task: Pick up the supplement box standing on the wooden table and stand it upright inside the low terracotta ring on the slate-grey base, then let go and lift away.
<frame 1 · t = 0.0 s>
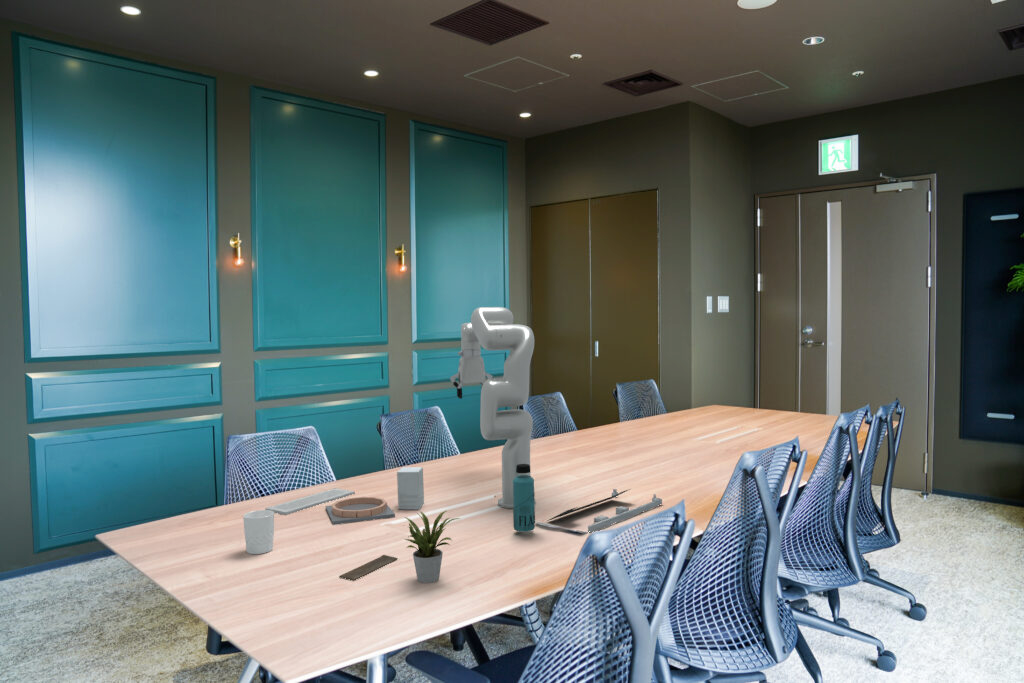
hand: (471, 397, 269), 31 cm above the table, tool pointing down, fingers open, 9 cm apart
wooden plank: (369, 570, 171), on the table
ring holder: (359, 512, 220), on the table
white cup: (259, 551, 185), on the table
plaque: (312, 504, 235), on the table
house plant: (433, 578, 164), on the table
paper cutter: (599, 516, 214), on the table
supplement box: (411, 507, 227), on the table
beverage bottle: (524, 534, 196), on the table
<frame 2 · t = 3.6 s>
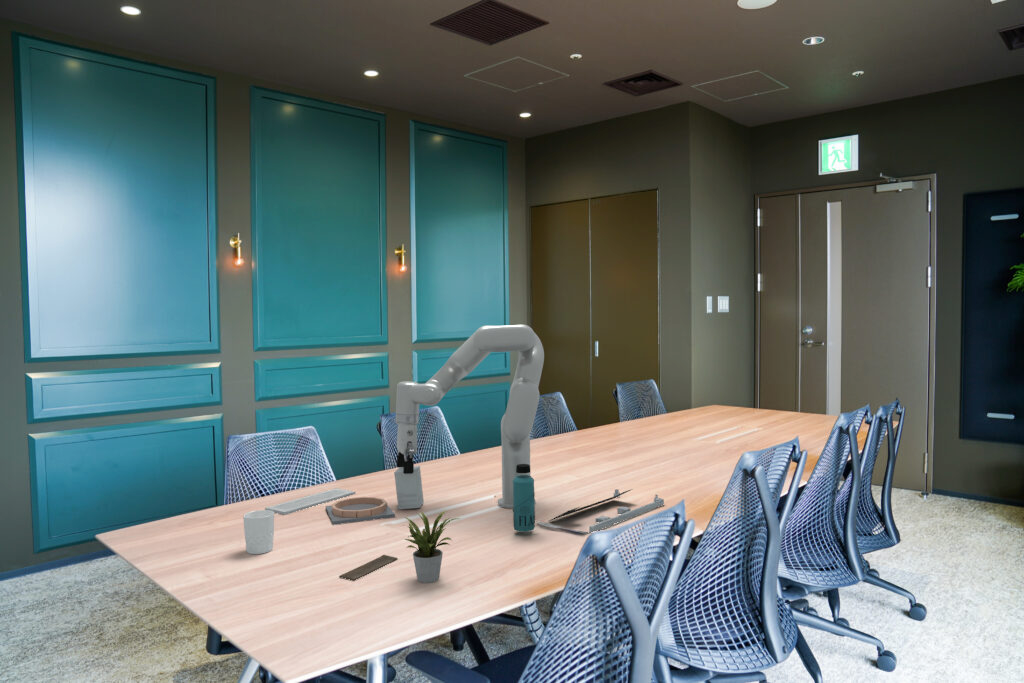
hand: (404, 470, 226), 12 cm above the table, tool pointing down, fingers open, 9 cm apart
supplement box: (411, 506, 227), on the table, touching gripper
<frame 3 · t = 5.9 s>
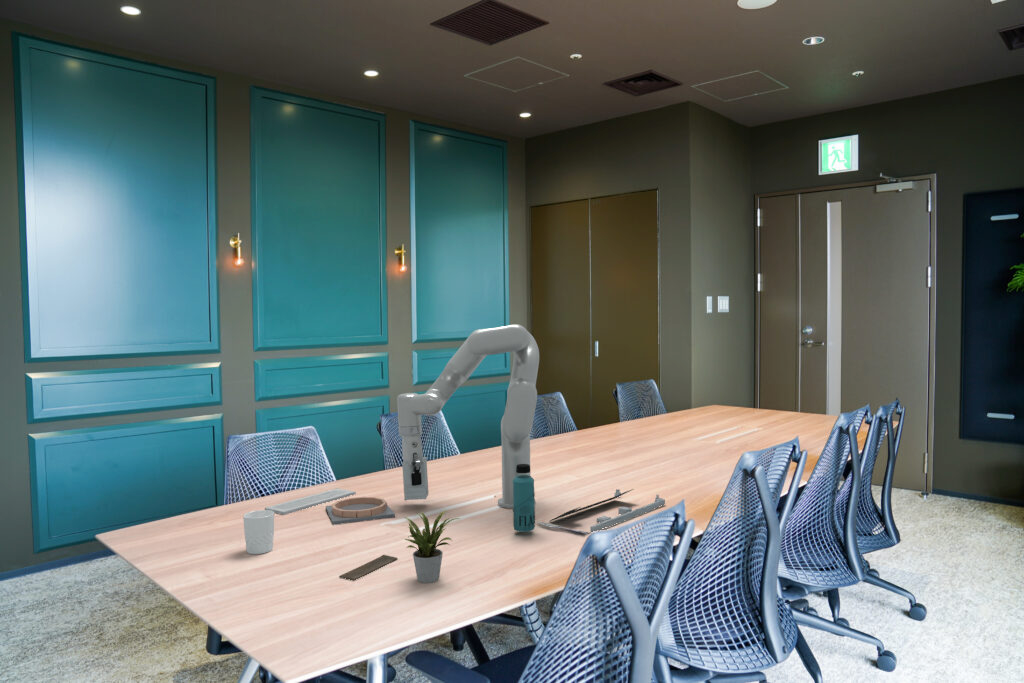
hand: (413, 482, 226), 8 cm above the table, tool pointing down, fingers closed on supplement box, 9 cm apart
supplement box: (416, 497, 227), point 3 cm above the table, touching gripper
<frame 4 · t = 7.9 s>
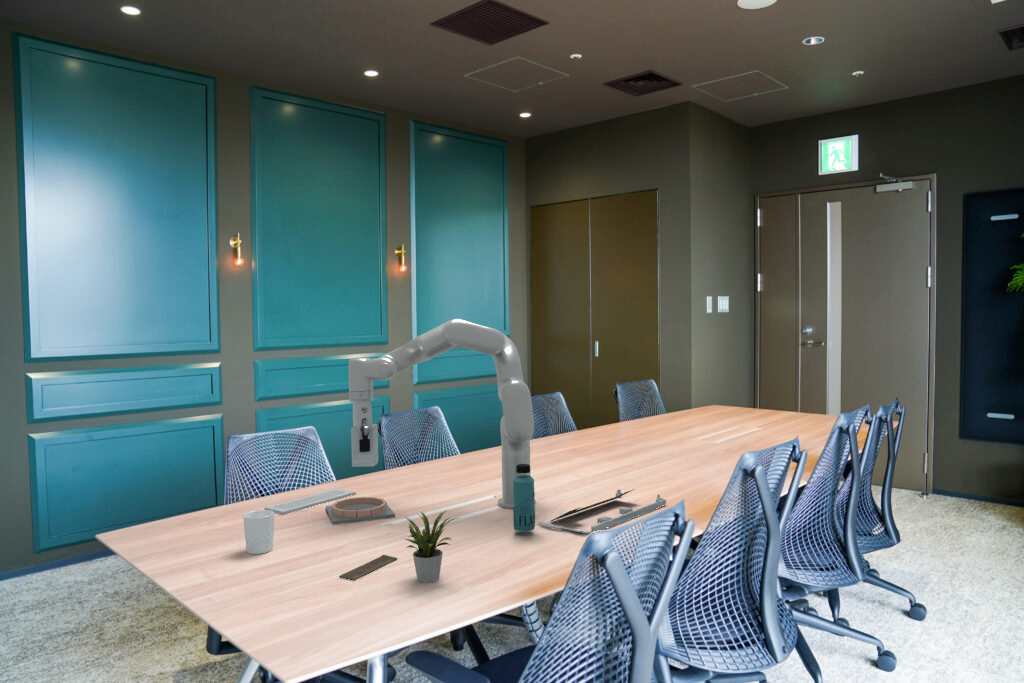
hand: (362, 449, 220), 21 cm above the table, tool pointing down, fingers closed on supplement box, 9 cm apart
supplement box: (365, 465, 220), point 15 cm above the table, touching gripper
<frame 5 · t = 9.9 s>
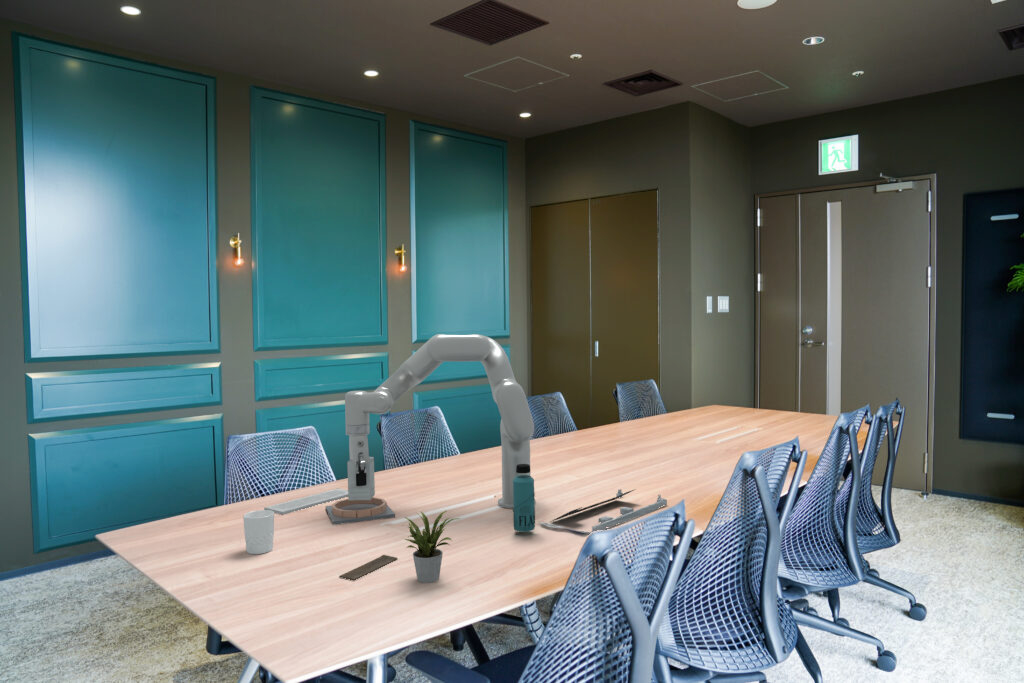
hand: (358, 482, 220), 10 cm above the table, tool pointing down, fingers closed on supplement box, 9 cm apart
supplement box: (361, 498, 220), point 5 cm above the table, touching gripper
when the fingers open (7 cm above the table, at t = 11.6 s): supplement box stays where it is, resting on ring holder.
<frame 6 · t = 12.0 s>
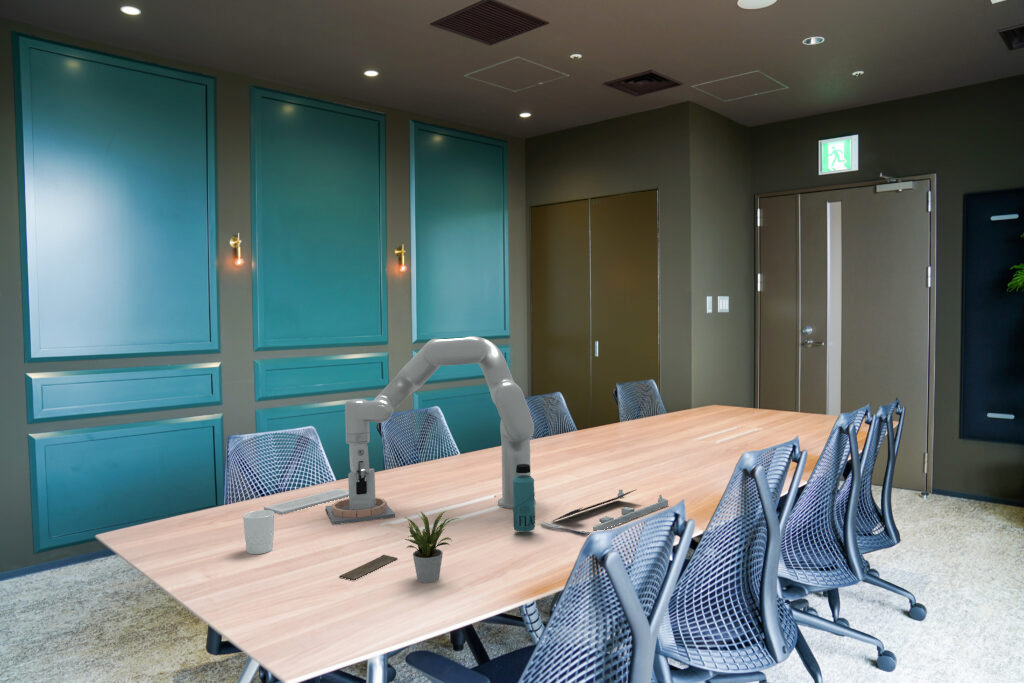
hand: (359, 490, 220), 7 cm above the table, tool pointing down, fingers open, 9 cm apart
supplement box: (362, 510, 220), point 1 cm above the table, touching ring holder
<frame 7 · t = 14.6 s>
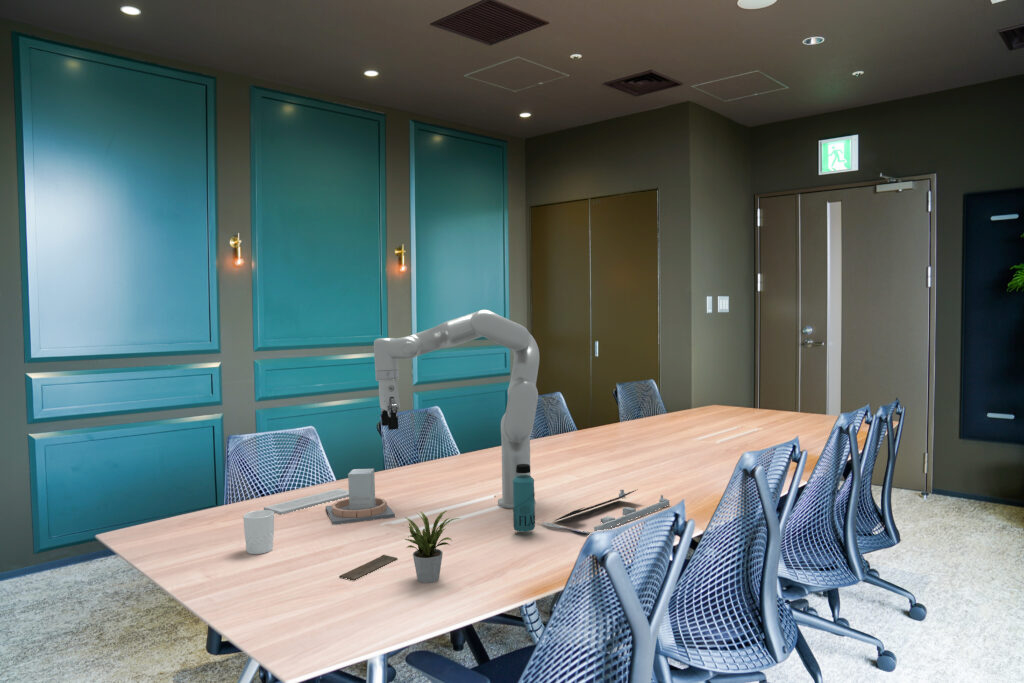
hand: (389, 427, 224), 27 cm above the table, tool pointing down, fingers open, 9 cm apart
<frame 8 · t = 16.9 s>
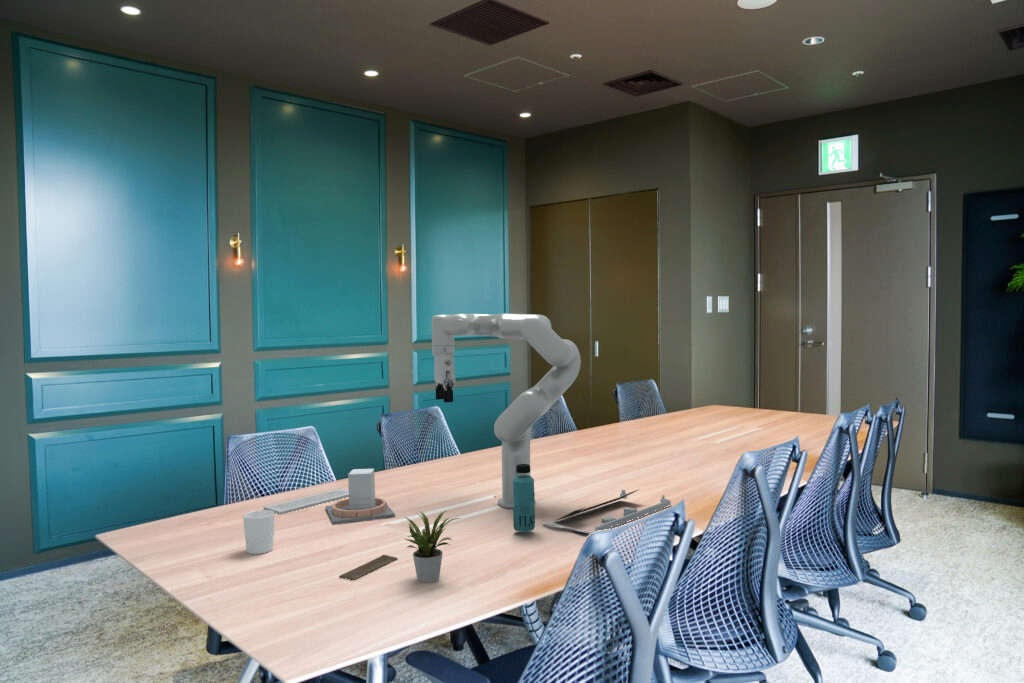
hand: (444, 400, 233), 34 cm above the table, tool pointing down, fingers open, 9 cm apart
at the end: supplement box 1.0 cm off-centre on the ring holder, point 0.8 cm above the ring holder's base; supplement box tilted 0°; the gripper is holding nothing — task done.
